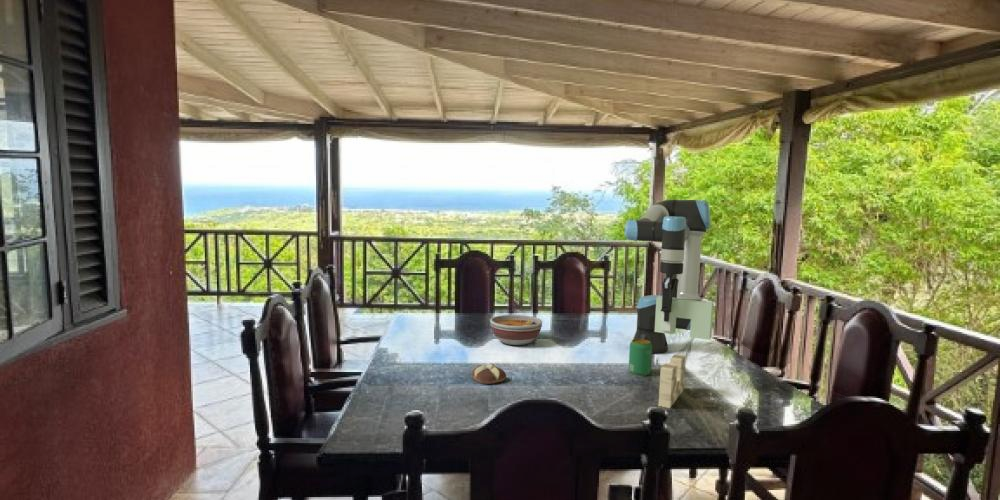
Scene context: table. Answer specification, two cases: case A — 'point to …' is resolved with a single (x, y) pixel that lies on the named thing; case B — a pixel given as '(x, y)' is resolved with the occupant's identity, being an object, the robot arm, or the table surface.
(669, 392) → the wooden block structure
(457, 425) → the table surface
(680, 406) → the table surface
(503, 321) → the bowl
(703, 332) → the pale green rectangular block
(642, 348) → the beverage can
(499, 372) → the bread
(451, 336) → the table surface
